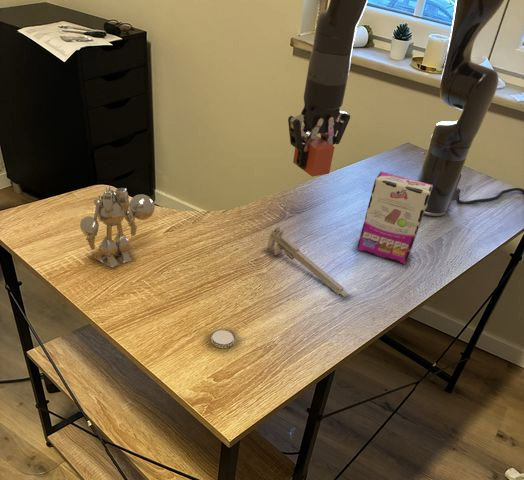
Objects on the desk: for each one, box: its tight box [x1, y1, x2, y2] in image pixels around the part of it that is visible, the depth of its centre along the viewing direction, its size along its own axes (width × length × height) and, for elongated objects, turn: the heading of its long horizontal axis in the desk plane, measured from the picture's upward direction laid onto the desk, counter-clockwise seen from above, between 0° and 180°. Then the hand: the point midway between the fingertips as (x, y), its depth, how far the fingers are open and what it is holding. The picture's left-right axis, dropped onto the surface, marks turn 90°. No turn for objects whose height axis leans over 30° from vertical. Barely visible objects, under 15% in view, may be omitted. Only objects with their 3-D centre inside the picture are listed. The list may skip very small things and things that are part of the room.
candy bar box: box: [356, 171, 433, 265], centre depth 110 cm, size 11×5×16 cm, turn 68°
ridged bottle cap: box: [210, 329, 236, 349], centre depth 88 cm, size 4×4×1 cm
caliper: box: [267, 226, 348, 298], centre depth 104 cm, size 20×1×6 cm, turn 47°
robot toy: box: [79, 185, 156, 268], centre depth 98 cm, size 15×6×15 cm, turn 134°
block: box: [292, 134, 335, 177], centre depth 108 cm, size 4×7×6 cm, turn 32°
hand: (311, 165), depth 109 cm, fingers closed on block, 4 cm apart
